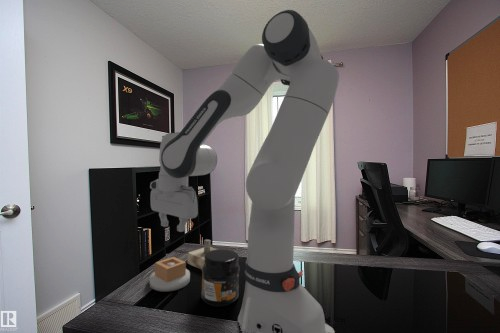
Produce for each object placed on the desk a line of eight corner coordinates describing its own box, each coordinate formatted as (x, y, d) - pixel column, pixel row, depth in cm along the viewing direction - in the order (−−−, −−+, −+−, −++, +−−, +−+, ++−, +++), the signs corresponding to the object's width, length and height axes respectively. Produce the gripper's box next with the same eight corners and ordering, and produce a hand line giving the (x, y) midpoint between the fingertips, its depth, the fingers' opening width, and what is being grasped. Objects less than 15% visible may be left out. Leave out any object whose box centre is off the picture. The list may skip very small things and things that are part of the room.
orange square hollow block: (185, 274, 75) (185, 262, 75) (167, 282, 69) (167, 269, 69) (173, 268, 79) (173, 256, 79) (154, 275, 73) (155, 262, 73)
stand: (225, 262, 90) (226, 240, 90) (205, 271, 82) (206, 247, 82) (207, 255, 96) (208, 235, 96) (187, 263, 88) (188, 240, 88)
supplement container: (202, 311, 60) (204, 264, 60) (199, 289, 70) (201, 249, 70) (242, 305, 63) (244, 260, 63) (234, 285, 73) (235, 247, 73)
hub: (197, 280, 75) (198, 263, 75) (163, 296, 66) (164, 276, 66) (175, 269, 83) (175, 253, 83) (141, 282, 73) (142, 264, 73)
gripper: (203, 186, 70) (202, 232, 70) (164, 182, 83) (163, 221, 83) (186, 187, 65) (184, 237, 65) (147, 183, 78) (146, 224, 78)
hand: (172, 228), depth 74 cm, fingers open, 7 cm apart
